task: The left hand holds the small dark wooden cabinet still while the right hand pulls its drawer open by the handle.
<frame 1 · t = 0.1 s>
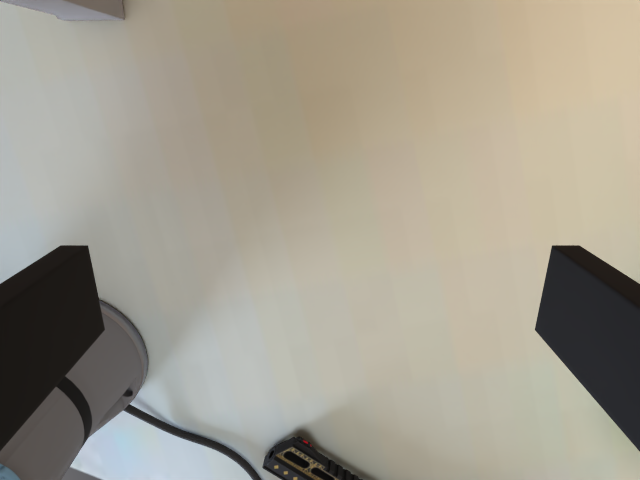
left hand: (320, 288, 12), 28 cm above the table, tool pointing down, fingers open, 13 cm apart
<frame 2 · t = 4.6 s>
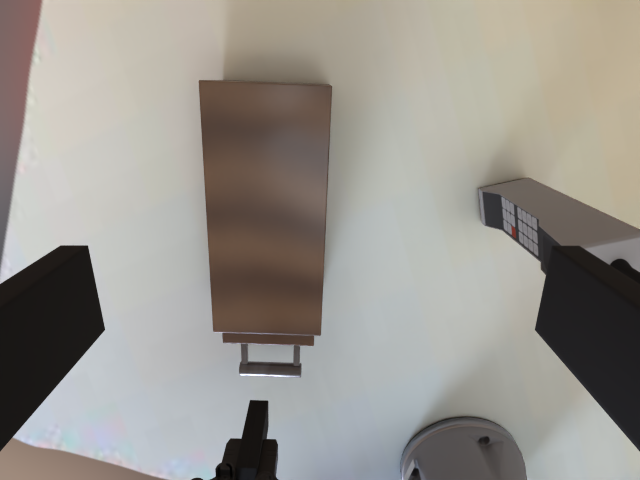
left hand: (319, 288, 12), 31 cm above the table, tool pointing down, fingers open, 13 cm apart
drawer: (271, 258, 41), point 4 cm above the table, slide at 0.6 cm
cabinet: (275, 196, 43), on the table
vintage mobile phone: (502, 199, 43), on the table
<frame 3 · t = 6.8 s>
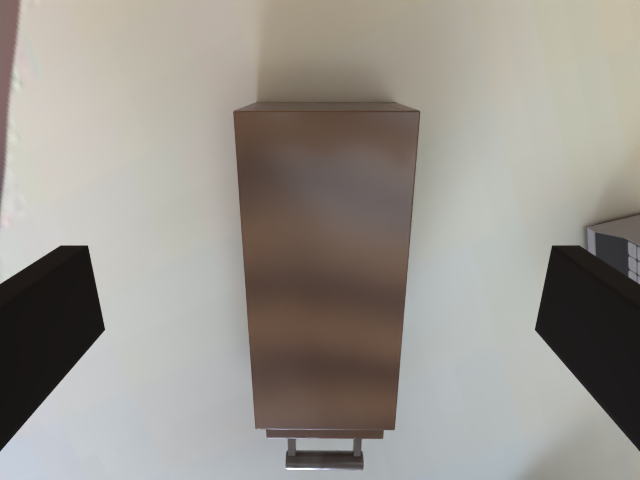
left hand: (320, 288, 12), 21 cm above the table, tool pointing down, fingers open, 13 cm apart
drawer: (325, 327, 32), point 4 cm above the table, slide at 0.6 cm
cabinet: (325, 245, 34), on the table
vintage mobile phone: (616, 238, 34), on the table
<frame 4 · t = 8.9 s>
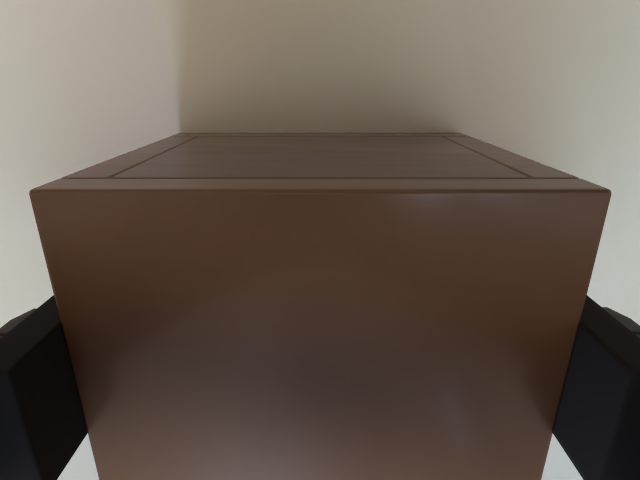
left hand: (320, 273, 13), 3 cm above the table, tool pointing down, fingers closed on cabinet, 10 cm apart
cabinet: (319, 387, 19), on the table, touching left hand
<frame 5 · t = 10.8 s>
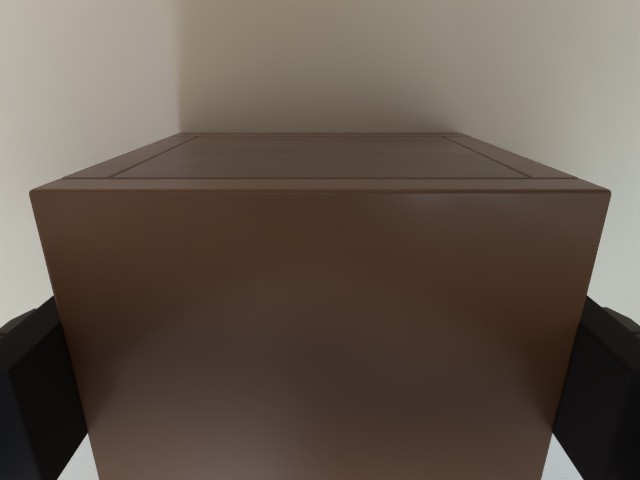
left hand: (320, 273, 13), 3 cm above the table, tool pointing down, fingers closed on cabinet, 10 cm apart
cabinet: (320, 387, 19), on the table, touching left hand
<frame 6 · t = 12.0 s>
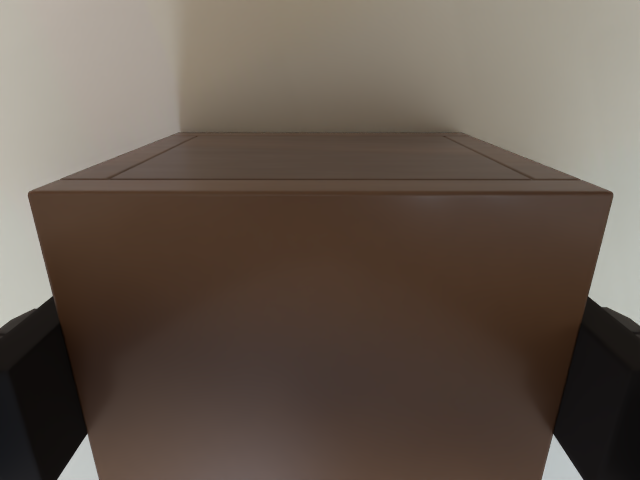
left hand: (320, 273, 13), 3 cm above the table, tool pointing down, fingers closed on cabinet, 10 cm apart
cabinet: (320, 386, 19), on the table, touching left hand
when the left hand's fingers open (3 cm above the table, at t = 13.9 s): cabinet stays where it is, on the table.
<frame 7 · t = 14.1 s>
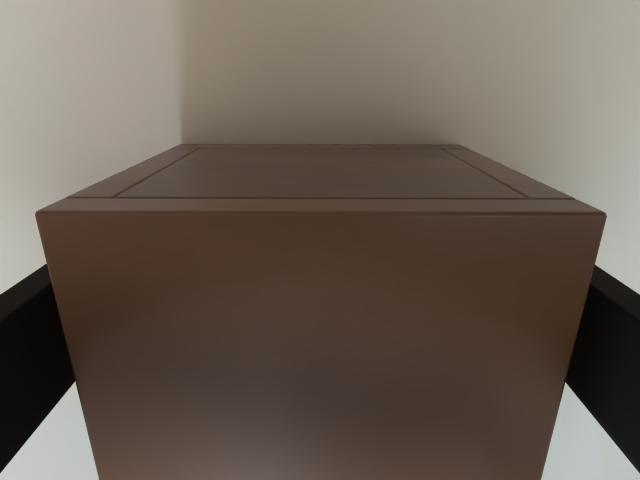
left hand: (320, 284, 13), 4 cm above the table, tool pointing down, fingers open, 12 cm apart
cabinet: (319, 394, 19), on the table
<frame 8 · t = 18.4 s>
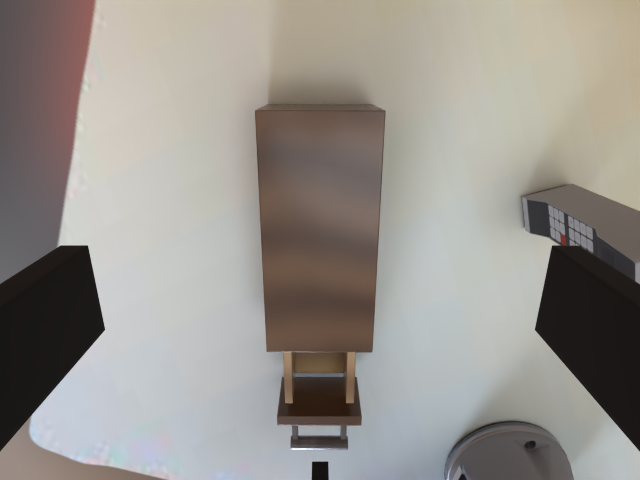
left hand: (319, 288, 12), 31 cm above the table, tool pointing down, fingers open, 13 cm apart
drawer: (319, 345, 44), point 4 cm above the table, slide at 8.4 cm
cabinet: (319, 215, 44), on the table
vintage mobile phone: (545, 206, 43), on the table
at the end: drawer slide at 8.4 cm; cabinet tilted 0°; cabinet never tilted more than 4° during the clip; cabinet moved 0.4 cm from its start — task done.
